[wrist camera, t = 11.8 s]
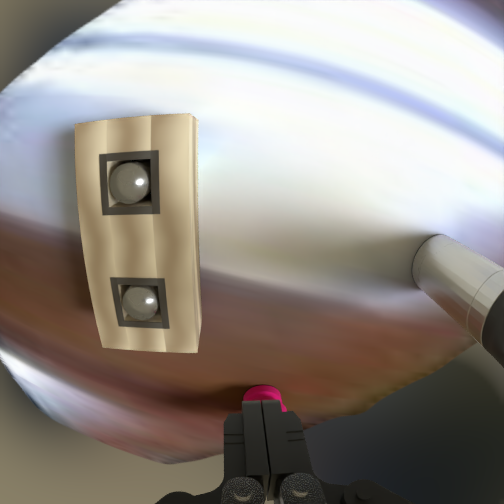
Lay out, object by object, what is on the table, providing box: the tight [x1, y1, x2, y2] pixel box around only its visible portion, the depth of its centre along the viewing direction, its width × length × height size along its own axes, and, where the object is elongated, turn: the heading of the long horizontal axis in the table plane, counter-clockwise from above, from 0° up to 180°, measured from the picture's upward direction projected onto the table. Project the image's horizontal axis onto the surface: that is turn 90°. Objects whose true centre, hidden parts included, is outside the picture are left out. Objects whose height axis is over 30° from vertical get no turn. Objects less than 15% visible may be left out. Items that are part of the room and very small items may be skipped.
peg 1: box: [110, 159, 151, 204], centre depth 32 cm, size 4×4×8 cm
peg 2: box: [123, 285, 160, 320], centre depth 36 cm, size 4×4×8 cm
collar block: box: [75, 113, 202, 353], centre depth 34 cm, size 12×26×8 cm, turn 179°
